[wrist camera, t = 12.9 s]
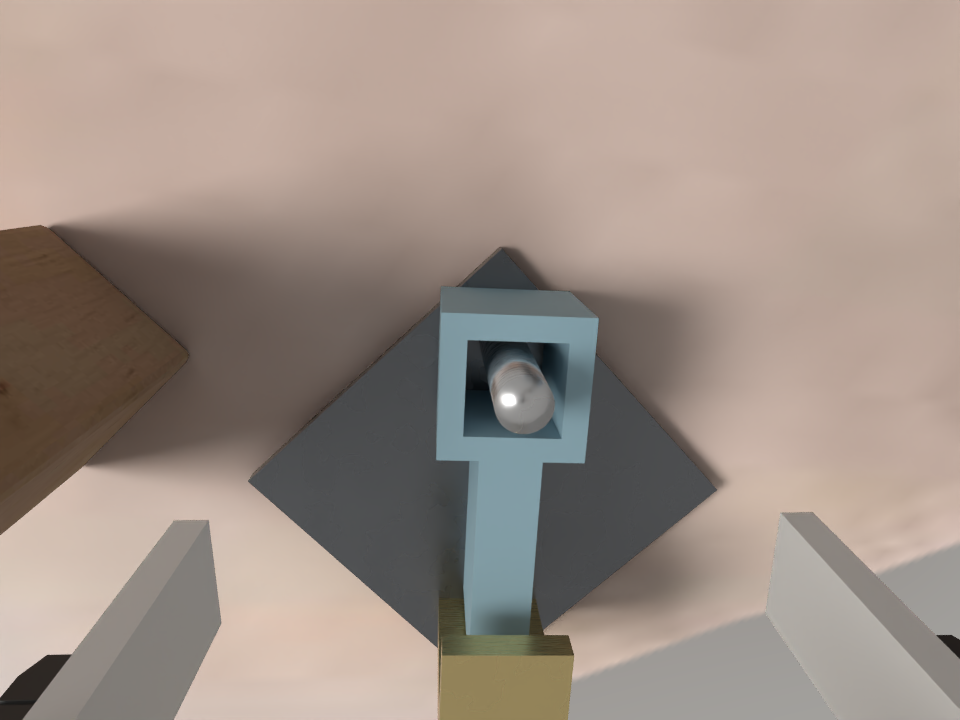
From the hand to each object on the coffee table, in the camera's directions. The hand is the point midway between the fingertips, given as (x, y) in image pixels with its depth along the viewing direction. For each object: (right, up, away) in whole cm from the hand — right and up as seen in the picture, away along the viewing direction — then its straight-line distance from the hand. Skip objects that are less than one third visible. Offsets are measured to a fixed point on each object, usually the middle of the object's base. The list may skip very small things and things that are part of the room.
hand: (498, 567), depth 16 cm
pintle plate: (0, -2, +25) cm, 25 cm away
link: (0, 0, +23) cm, 23 cm away
